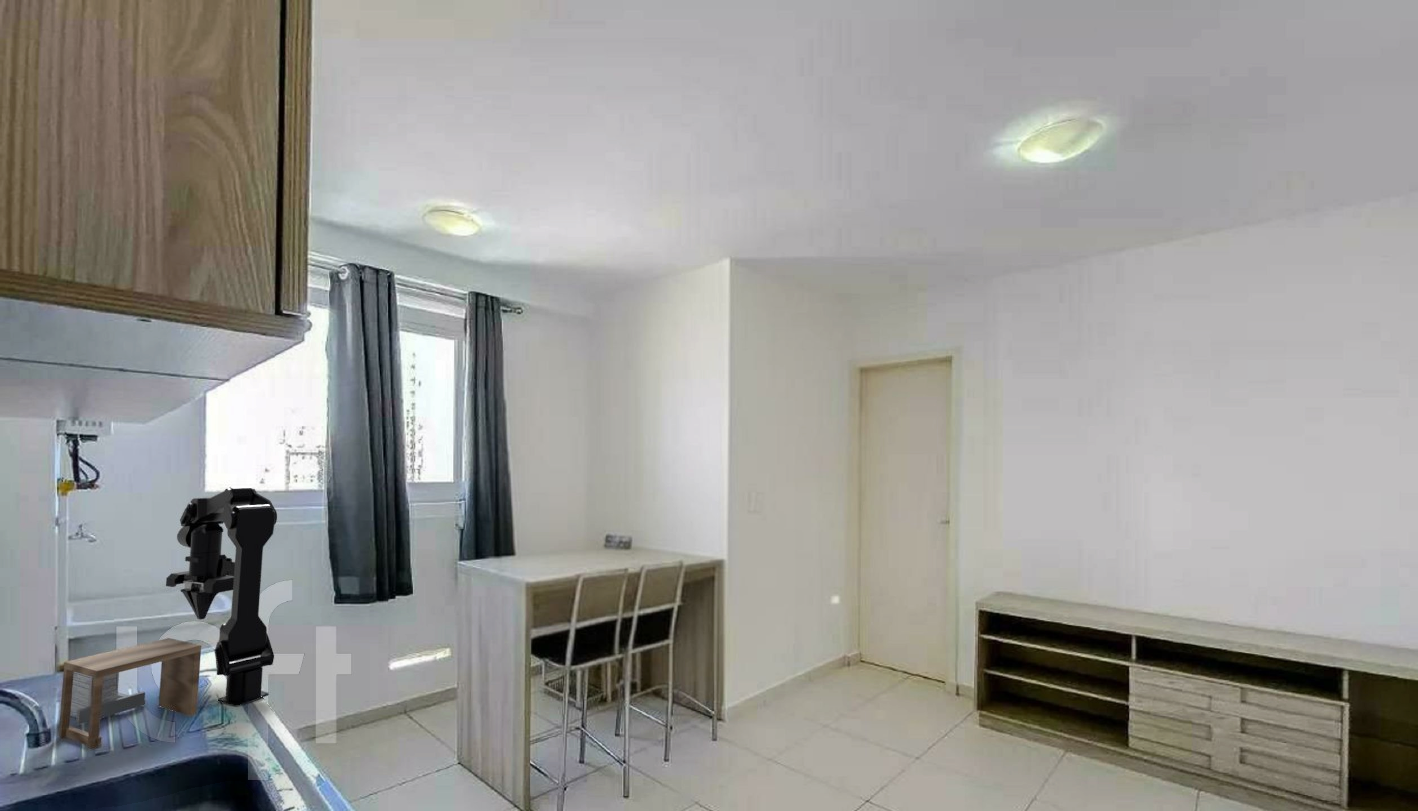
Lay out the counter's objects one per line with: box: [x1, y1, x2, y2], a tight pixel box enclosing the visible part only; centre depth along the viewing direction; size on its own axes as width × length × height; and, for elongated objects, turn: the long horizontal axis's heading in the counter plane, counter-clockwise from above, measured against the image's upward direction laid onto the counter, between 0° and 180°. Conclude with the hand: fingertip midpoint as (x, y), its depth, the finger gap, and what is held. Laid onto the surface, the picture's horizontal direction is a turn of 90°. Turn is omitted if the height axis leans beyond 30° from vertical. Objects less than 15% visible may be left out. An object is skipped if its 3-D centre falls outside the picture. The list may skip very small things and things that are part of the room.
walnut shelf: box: [58, 637, 202, 751], centre depth 118 cm, size 11×16×13 cm
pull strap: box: [75, 691, 146, 726], centre depth 127 cm, size 23×11×6 cm, turn 67°
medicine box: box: [70, 672, 120, 718], centre depth 123 cm, size 8×4×9 cm, turn 66°
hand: (201, 619), depth 147 cm, fingers closed
